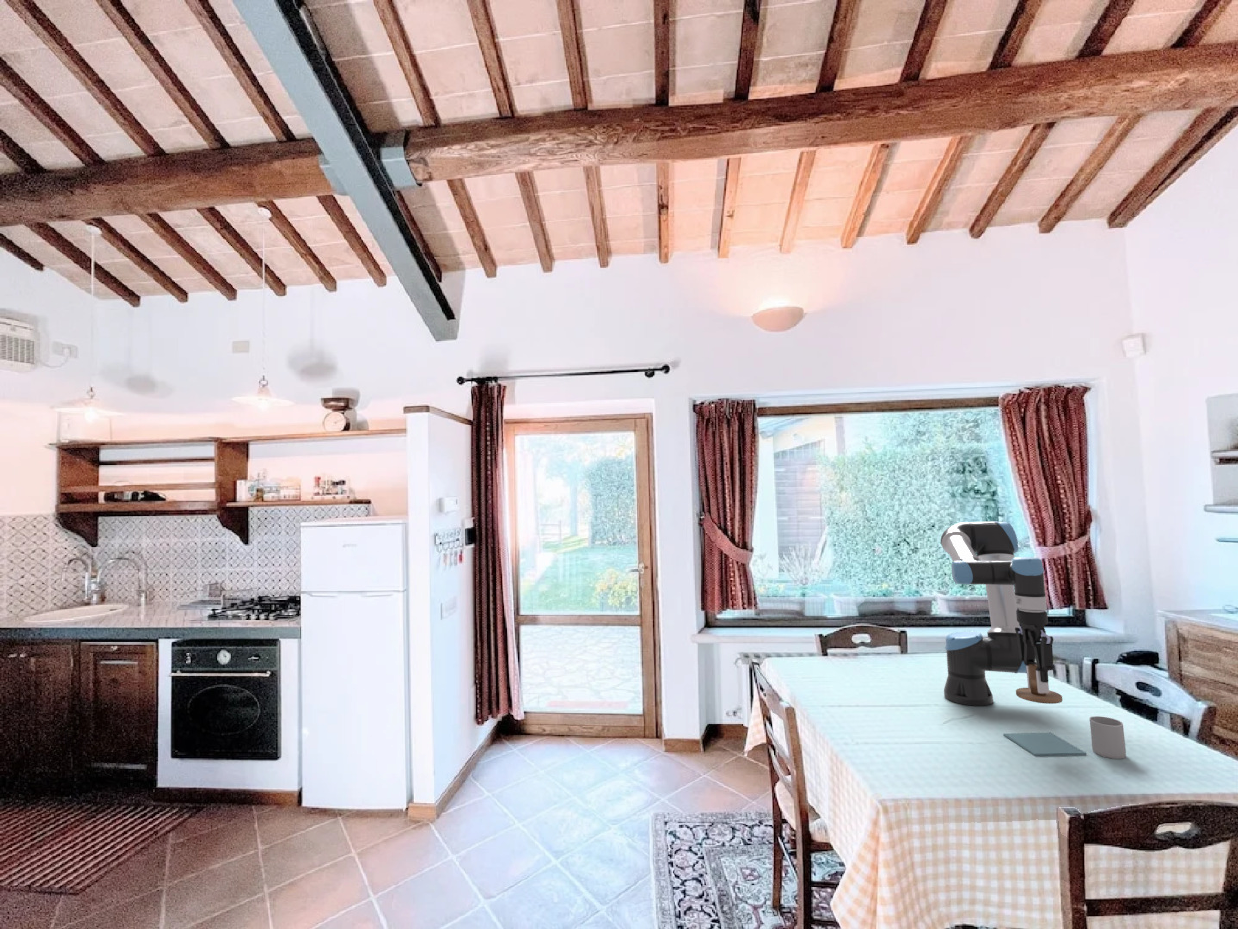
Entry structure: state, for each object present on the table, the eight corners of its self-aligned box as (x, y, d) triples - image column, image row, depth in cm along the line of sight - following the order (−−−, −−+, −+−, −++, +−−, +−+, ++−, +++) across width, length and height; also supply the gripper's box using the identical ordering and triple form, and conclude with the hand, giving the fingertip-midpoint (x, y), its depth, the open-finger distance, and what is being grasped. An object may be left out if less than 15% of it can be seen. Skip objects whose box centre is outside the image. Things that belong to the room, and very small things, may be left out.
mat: (1003, 735, 173) (1003, 733, 173) (1050, 734, 172) (1050, 732, 172) (1034, 756, 159) (1034, 753, 159) (1086, 755, 159) (1086, 752, 159)
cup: (1100, 758, 156) (1097, 725, 157) (1082, 743, 166) (1079, 712, 167) (1132, 760, 154) (1128, 727, 155) (1112, 745, 164) (1109, 713, 165)
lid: (1007, 691, 172) (1005, 661, 173) (1045, 690, 172) (1042, 660, 173) (1032, 704, 161) (1029, 671, 162) (1072, 703, 161) (1069, 671, 162)
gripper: (1000, 605, 177) (1007, 682, 175) (1037, 615, 160) (1045, 700, 159) (1025, 604, 177) (1032, 681, 175) (1064, 615, 160) (1072, 699, 158)
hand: (1038, 690), depth 167 cm, fingers closed on lid, 3 cm apart
